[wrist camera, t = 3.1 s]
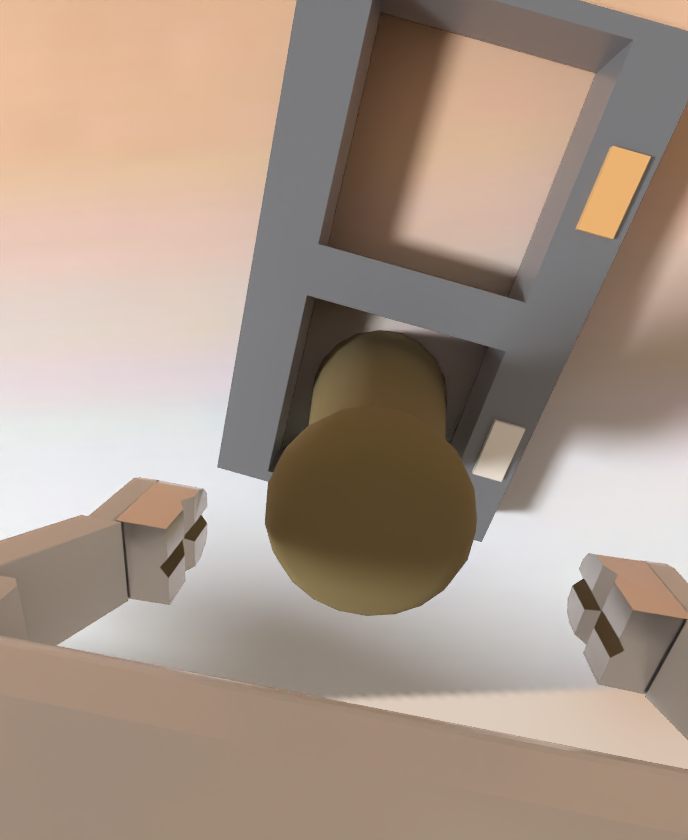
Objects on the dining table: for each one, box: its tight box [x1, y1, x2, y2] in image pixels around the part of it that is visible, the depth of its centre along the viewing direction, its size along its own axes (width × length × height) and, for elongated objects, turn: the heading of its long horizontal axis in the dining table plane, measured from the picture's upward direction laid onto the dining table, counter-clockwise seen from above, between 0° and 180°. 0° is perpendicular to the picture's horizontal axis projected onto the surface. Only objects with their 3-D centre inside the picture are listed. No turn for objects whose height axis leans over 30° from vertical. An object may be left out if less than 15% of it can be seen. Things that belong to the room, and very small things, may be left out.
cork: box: [265, 330, 477, 616], centre depth 14 cm, size 6×6×11 cm
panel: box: [217, 0, 688, 542], centre depth 16 cm, size 18×12×3 cm, turn 165°
